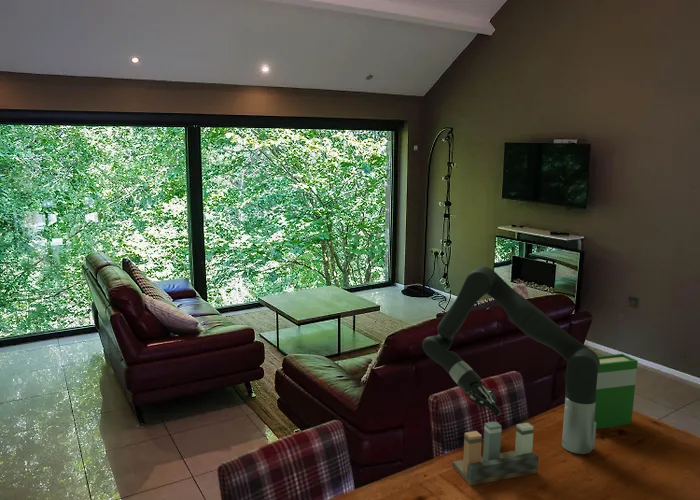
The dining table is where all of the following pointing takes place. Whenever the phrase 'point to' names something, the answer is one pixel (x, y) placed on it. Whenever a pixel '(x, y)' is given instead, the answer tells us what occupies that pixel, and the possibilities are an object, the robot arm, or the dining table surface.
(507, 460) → the dark grey block stand
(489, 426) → the slate key
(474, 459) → the tan tall block
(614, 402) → the hardback book
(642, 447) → the dining table surface
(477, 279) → the robot arm
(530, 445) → the white tall block
